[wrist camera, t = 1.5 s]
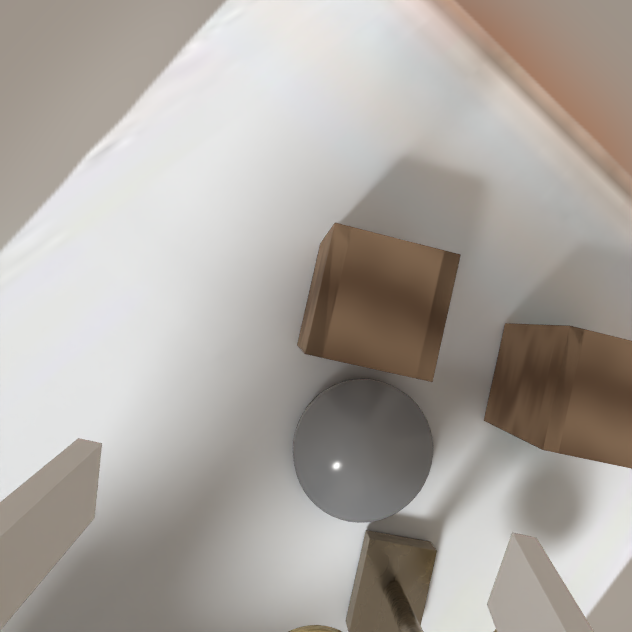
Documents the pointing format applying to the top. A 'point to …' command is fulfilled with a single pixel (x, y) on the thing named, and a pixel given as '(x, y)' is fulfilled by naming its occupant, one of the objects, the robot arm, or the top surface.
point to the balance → (388, 585)
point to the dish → (362, 450)
